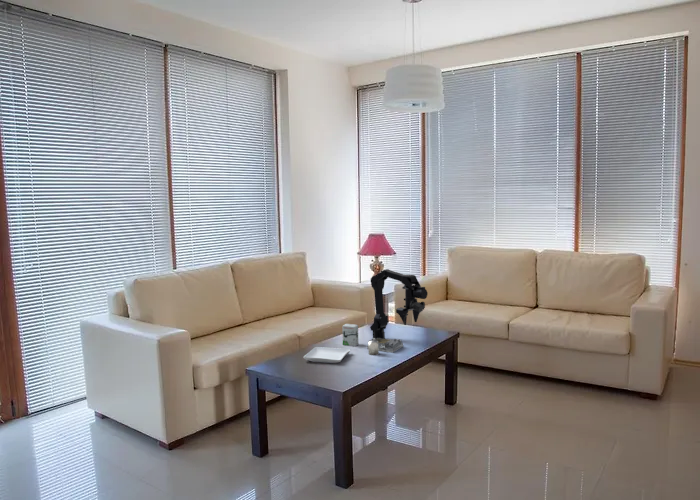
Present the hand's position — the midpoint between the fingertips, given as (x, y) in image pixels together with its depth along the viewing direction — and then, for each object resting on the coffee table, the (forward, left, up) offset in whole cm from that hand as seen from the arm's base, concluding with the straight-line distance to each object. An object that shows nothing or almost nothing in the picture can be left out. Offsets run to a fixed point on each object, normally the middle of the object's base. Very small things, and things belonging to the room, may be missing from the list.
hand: (410, 323), depth 313 cm
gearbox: (-12, -9, -14) cm, 20 cm away
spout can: (-13, -22, -14) cm, 29 cm away
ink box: (-34, -11, -14) cm, 38 cm away
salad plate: (-32, -40, -14) cm, 53 cm away
